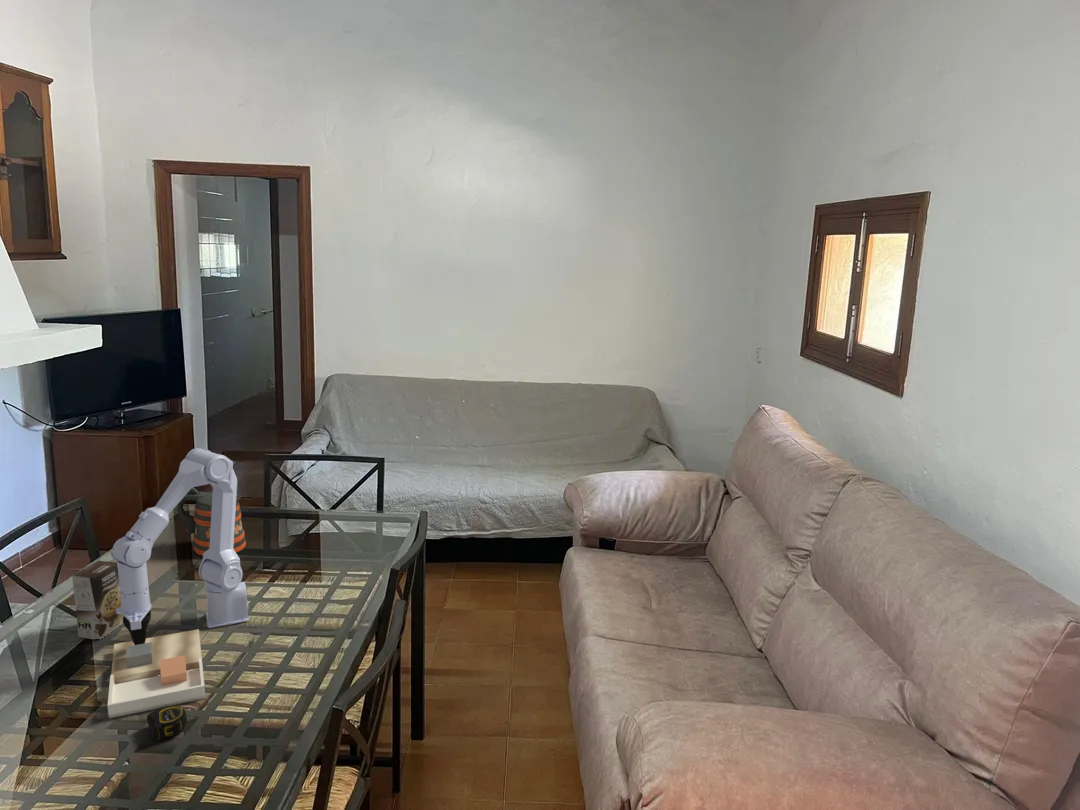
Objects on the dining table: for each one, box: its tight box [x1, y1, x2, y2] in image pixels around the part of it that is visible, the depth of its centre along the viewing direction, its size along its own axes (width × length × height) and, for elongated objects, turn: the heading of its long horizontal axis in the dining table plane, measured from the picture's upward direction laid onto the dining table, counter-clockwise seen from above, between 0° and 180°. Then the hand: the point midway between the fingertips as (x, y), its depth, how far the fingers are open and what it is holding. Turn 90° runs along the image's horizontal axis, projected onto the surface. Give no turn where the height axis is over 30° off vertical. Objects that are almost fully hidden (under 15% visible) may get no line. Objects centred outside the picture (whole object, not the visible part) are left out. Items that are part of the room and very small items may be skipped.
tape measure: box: [146, 705, 188, 742], centre depth 159 cm, size 7×7×4 cm
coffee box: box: [71, 560, 124, 641], centre depth 193 cm, size 9×6×16 cm
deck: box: [110, 628, 203, 684], centre depth 183 cm, size 18×15×2 cm
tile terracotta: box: [160, 655, 187, 685], centre depth 175 cm, size 5×5×2 cm
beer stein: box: [176, 487, 247, 557], centre depth 240 cm, size 19×15×20 cm
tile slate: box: [126, 642, 153, 668], centre depth 179 cm, size 5×5×2 cm
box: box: [107, 658, 206, 719], centre depth 170 cm, size 18×12×3 cm, turn 115°
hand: (139, 643), depth 184 cm, fingers closed
